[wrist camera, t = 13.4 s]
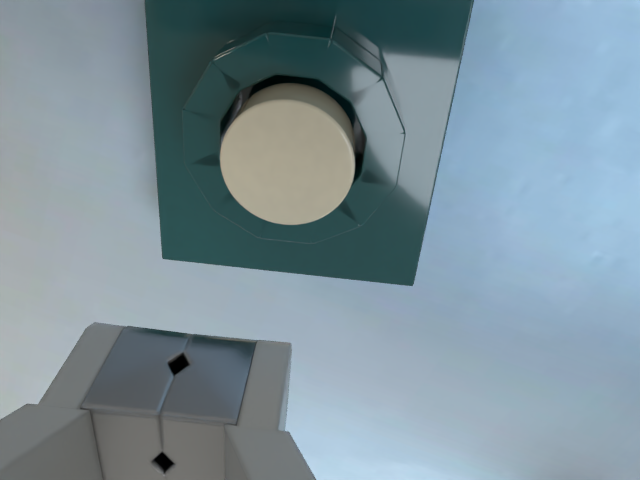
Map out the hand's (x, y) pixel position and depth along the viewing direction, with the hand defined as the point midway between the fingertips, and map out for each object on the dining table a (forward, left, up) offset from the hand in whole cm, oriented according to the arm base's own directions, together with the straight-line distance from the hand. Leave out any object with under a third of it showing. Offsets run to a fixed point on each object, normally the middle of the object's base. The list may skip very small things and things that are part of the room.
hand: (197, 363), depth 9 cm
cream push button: (+1, 0, -11) cm, 11 cm away
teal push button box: (+1, 0, -15) cm, 15 cm away
